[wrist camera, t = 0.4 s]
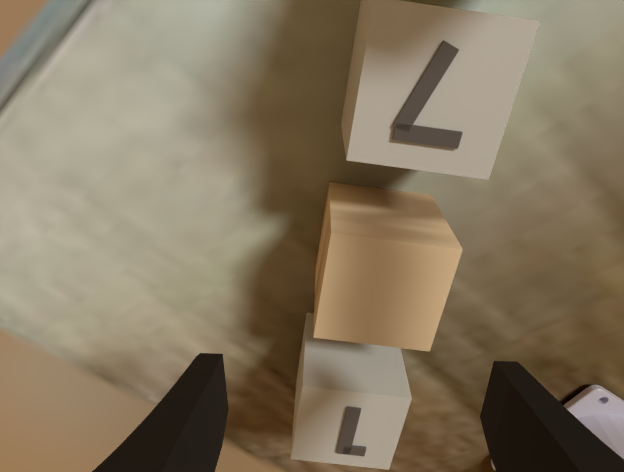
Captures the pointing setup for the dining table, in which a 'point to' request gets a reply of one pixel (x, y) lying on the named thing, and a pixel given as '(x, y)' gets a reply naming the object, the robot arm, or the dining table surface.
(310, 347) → the marked block 1
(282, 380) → the dining table surface
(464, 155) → the marked block 7
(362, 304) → the plain block
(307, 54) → the dining table surface
